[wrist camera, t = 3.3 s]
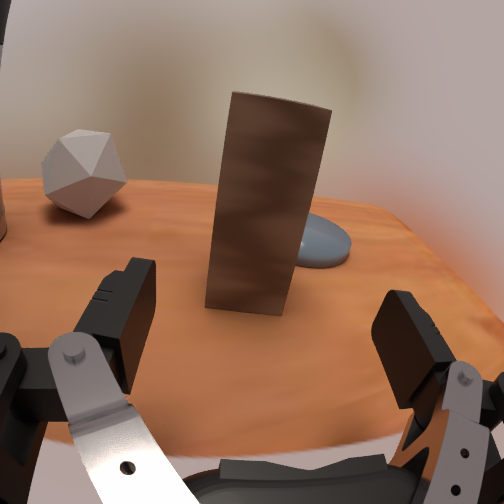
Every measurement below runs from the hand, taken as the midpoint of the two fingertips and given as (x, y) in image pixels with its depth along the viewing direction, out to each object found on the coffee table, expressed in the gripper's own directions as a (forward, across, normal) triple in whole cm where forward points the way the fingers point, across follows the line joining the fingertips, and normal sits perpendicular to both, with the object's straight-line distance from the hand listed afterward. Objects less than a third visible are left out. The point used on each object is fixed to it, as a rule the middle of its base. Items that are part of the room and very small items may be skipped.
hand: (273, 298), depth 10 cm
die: (+20, +17, +7) cm, 27 cm away
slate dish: (+19, -5, +7) cm, 21 cm away
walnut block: (+10, 0, +7) cm, 12 cm away
